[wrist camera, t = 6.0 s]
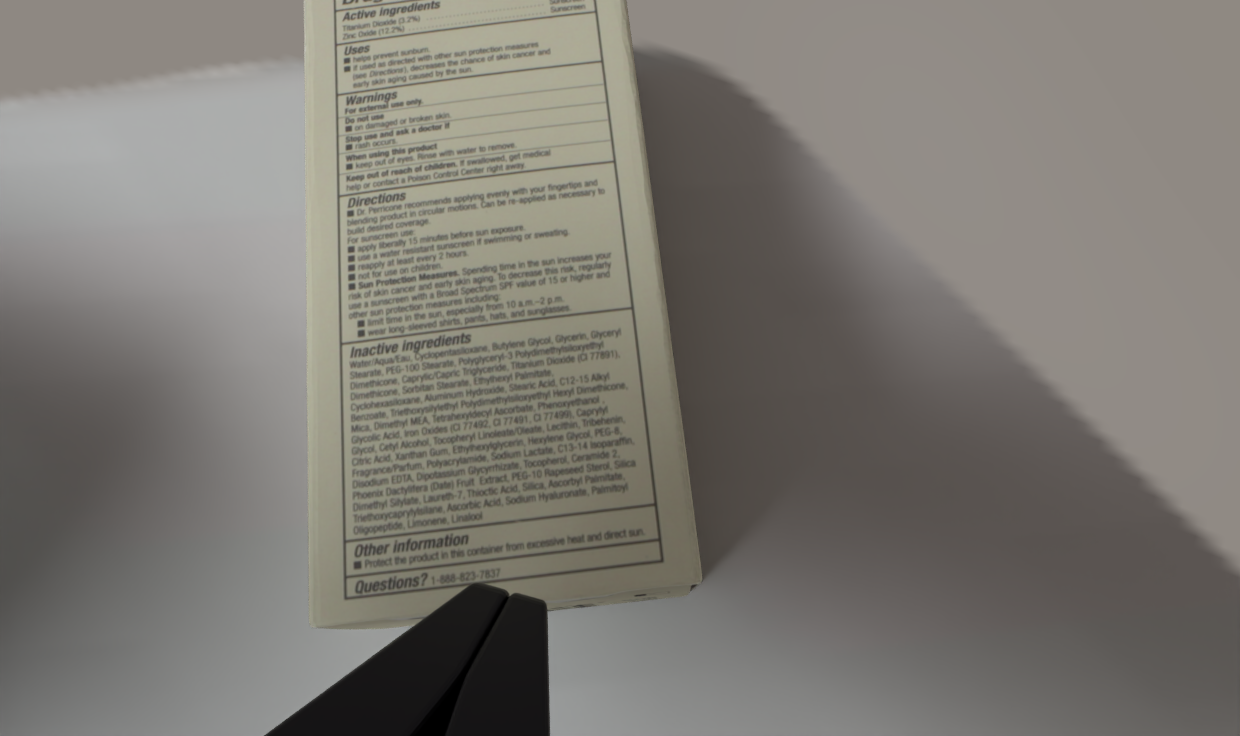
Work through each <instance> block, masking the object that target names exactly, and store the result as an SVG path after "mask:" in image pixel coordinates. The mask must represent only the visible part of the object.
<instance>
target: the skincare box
mask: <svg viewBox="0 0 1240 736" xmlns="http://www.w3.org/2000/svg"><path fill="white" fill-rule="evenodd" d="M304 39H305V41H304V45H305V46H304V62H305V193H306V299H307V432H308V569H309V624H310V626H311V627H312V628H326V629H385V628H394V627H404V626H414V625H416V624H417V623H418V622H420V621H421V620H422V619H424V618H425V617H427V616H428V615H429V614H431V613H432V612H433V611H435V610H436V609H437V608H439V607H440V606H442V605H443V604H444V603H446V602H447V601H448V600H450V599H451V598H452V597H454V596H455V595H457V594H458V593H459V592H461V591H462V590H463V589H465V588H466V587H467V586H469V585H470V584H472V583H476V582H480V583H484V584H488V585H491V586H495V587H498V588H502V589H505V590H507V591H508V593H509V595H511V594H513V593H520V594H524V595H527V596H531V597H535V598H538V599H542V600H544V601H545V602H546V604H547V611H554V610H562V609H571V608H581V607H591V606H600V605H609V604H618V603H627V602H635V601H644V600H653V599H663V598H672V597H681V596H687V595H688V594H689V593H690V591H691V590H693V589H694V588H696V587H697V586H698V585H700V583H701V582H702V569H701V561H700V553H699V546H698V538H697V531H696V523H695V515H694V508H693V500H692V492H691V484H690V476H689V469H688V461H687V453H686V446H685V438H684V431H683V424H682V416H681V409H680V402H679V394H678V387H677V380H676V372H675V365H674V357H673V350H672V342H671V334H670V326H669V318H668V311H667V303H666V296H665V288H664V281H663V274H662V266H661V258H660V251H659V243H658V235H657V228H656V220H655V213H654V205H653V198H652V190H651V183H650V175H649V167H648V160H647V152H646V144H645V136H644V129H643V122H642V114H641V107H640V100H639V92H638V85H637V77H636V70H635V62H634V55H633V47H632V39H631V32H630V24H629V18H628V9H627V2H626V0H304Z"/></svg>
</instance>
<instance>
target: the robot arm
mask: <svg viewBox="0 0 1240 736" xmlns="http://www.w3.org/2000/svg"><path fill="white" fill-rule="evenodd" d="M264 736H550V711H549V663H548V614H547V604H546V602H545V601H544V600H542V599H538V598H535V597H531V596H527V595H524V594H520V593H513V594H511V595H509V593H508V591H507V590H505V589H502V588H498V587H495V586H491V585H488V584H484V583H480V582H476V583H472V584H470V585H469V586H467V587H466V588H465V589H463V590H462V591H461V592H459V593H458V594H457V595H455V596H454V597H452V598H451V599H450V600H448V601H447V602H446V603H444V604H443V605H442V606H440V607H439V608H437V609H436V610H435V611H433V612H432V613H431V614H429V615H428V616H427V617H425V618H424V619H422V620H421V621H420V622H418V623H417V624H416V625H414V626H413V627H412V628H410V629H409V630H407V631H406V632H405V633H403V634H402V635H401V636H399V637H398V638H397V639H395V640H394V641H392V642H391V643H390V644H388V645H387V646H386V647H384V648H383V649H382V650H380V651H379V652H378V653H376V654H375V655H373V656H372V657H371V658H369V659H368V660H367V661H365V662H364V663H363V664H361V665H360V666H358V667H357V668H356V669H354V670H353V671H352V672H350V673H349V674H348V675H346V676H345V677H343V678H342V679H341V680H339V681H338V682H337V683H335V684H334V685H333V686H331V687H330V688H328V689H327V690H326V691H324V692H323V693H322V694H320V695H319V696H318V697H316V698H315V699H313V700H312V701H311V702H309V703H308V704H307V705H305V706H304V707H303V708H301V709H300V710H299V711H297V712H296V713H294V714H293V715H292V716H290V717H289V718H288V719H286V720H285V721H284V722H282V723H281V724H279V725H278V726H277V727H275V728H274V729H273V730H271V731H270V732H269V733H267V734H266V735H264Z"/></svg>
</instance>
